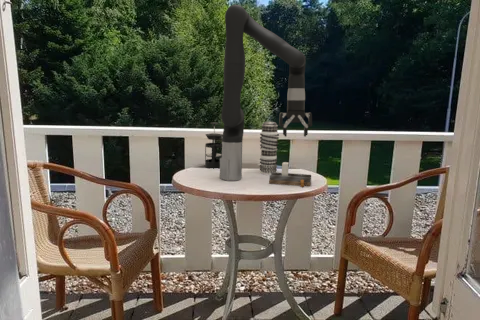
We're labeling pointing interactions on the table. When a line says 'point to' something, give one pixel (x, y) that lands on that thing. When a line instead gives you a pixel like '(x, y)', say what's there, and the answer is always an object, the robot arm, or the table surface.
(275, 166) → the decorative candle
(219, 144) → the french press
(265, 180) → the table surface
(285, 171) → the slider tab
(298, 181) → the slider track
